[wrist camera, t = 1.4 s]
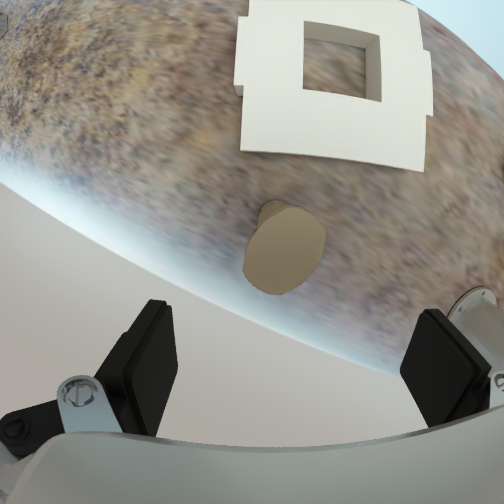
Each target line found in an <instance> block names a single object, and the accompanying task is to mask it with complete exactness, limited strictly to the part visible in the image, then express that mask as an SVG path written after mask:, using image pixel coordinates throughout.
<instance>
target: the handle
mask: <svg viewBox="0 0 504 504" xmlns="http://www.w3.org/2000/svg"><path fill="white" fill-rule="evenodd" d="M257 226H258V227H257V228H256V229H255V231H254V232H253V234H252V236H251V237H250V239H249V241H248V244H247V248H246V253H245V260H244V267H243V272H244V275H245V277H246V278H247V280H248V281H249V282H250V283H251V284H252V285H253V286H255V287H256V288H257V289H259V290H261V291H263V292H265V293H268V294H273V295H282V294H284V293H286V292H288V291H290V290H292V289H294V288H295V287H297V286H299V285H300V284H302V283H303V282H304V281H305V280H306V279H307V278H308V277H309V276H310V274H311V273H312V272H313V271H314V269H315V268H316V267H317V265H318V264H319V262H320V260H321V258H322V255H323V251H324V247H325V242H326V237H327V234H326V231H325V229H324V227H323V225H322V224H321V223H320V221H319V220H318V219H317V218H316V217H315V216H314V215H312V214H311V213H310V212H308V211H307V210H305V209H303V208H300V207H297V206H288V205H287V204H286V203H284V202H281V201H279V200H274V201H271V202H268V203H267V204H264V205H263V207H262V209H261V211H260V213H259V216H258V223H257Z"/></svg>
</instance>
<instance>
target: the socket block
mask: <svg viewBox="0 0 504 504" xmlns="http://www.w3.org/2000/svg"><path fill="white" fill-rule="evenodd" d="M304 38H306V39H314V40H321V41H327V42H333V43H339V44H344V45H349V46H354V47H359V48H363V49H365V57H366V99H363V98H357V97H352V96H346V95H341V94H334V93H328V92H320V91H313V90H304V89H302V85H303V44H304ZM234 87H235V90H236V93H237V95H238V96H243V108H242V127H241V146H240V150H241V151H243V152H263V153H279V154H292V155H303V156H313V157H323V158H331V159H340V160H347V161H355V162H362V163H368V164H375V165H381V166H387V167H392V168H398V169H403V170H411V171H418V172H423V170H424V157H425V138H426V118H427V117H433V90H432V72H431V59H430V52H428V51H426V50H423V45H422V37H421V30H420V23H419V17H418V11H417V7H415V6H413V5H410V4H407V3H405V2H402V1H399V0H250V2H249V15H248V17H239V20H238V32H237V45H236V58H235V72H234Z"/></svg>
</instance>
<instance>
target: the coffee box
mask: <svg viewBox="0 0 504 504" xmlns="http://www.w3.org/2000/svg"><path fill="white" fill-rule="evenodd" d="M7 31H8V25H7V15H5V14H2V13H0V39H1V38H2V36H3V35H4V34H5V33H6V32H7Z"/></svg>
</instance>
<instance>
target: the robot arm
mask: <svg viewBox="0 0 504 504" xmlns="http://www.w3.org/2000/svg"><path fill="white" fill-rule="evenodd" d="M177 370H178V362H177V354H176V345H175V336H174V327H173V317H172V307H171V306H170V305H167V303H166V301H161V300H152V299H151V300H149V301H148V302H147V304H146V305H145V307H144V308H143V309H142V311H141V312H140V314H139V315H138V317H137V318H136V320H135V321H134V322H133V324H132V325H131V327H130V328H129V330H128V331H127V332H124V333H123V334H122V335H121V337H120V338H119V340H118V341H117V342H116V344H115V346H114V347H113V348H112V350H111V351H110V353H109V354H108V356H107V357H106V359H105V360H104V362H103V363H102V365H101V367H100V368H99V370H98V371H97V373H96V374H95V376H94V377H90V376H85V375H79V376H73V377H71V378H68V379H67V380H65V381H64V382H63V383H62V384H61V385H60V386H59V388H58V390H57V399H56V400H53V401H49V402H46V403H43V404H39V405H36V406H32V407H29V408H25V409H21V410H17V411H13V412H11V413H8V414H6V415H5V416H4V417H3V418H2V419H1V420H0V504H504V312H503V311H501V310H500V309H499V308H498V307H497V306H496V298H495V295H494V293H493V292H492V291H491V290H489V289H488V288H486V287H478V288H475V289H472V290H470V291H469V292H468V293H466V294H465V295H464V296H463V297H462V298H461V299H460V300H459V301H458V302H457V303H456V304H455V306H454V307H453V309H452V310H451V312H450V314H449V316H448V318H447V317H446V316H445V315H444V314H443V313H442V312H441V311H440V310H439V309H425V310H424V311H423V313H421V314H420V315H419V318H418V321H417V324H416V327H415V330H414V333H413V335H412V338H411V341H410V343H409V346H408V349H407V351H406V354H405V356H404V359H403V361H402V364H401V366H400V374H401V376H402V378H403V380H404V382H405V383H406V385H407V387H408V389H409V391H410V393H411V394H412V396H413V398H414V400H415V402H416V404H417V406H418V408H419V410H420V412H421V414H422V416H423V418H424V419H425V422H426V424H427V425H428V427H429V428H427V429H423V430H419V431H415V432H410V433H406V434H401V435H396V436H391V437H386V438H380V439H374V440H368V441H361V442H354V443H345V444H335V445H324V446H308V447H281V448H280V447H241V446H226V445H213V444H201V443H193V442H185V441H178V440H171V439H164V438H157V437H156V434H157V431H158V428H159V425H160V422H161V419H162V416H163V413H164V410H165V406H166V403H167V401H168V398H169V395H170V392H171V389H172V386H173V383H174V380H175V377H176V374H177Z"/></svg>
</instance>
